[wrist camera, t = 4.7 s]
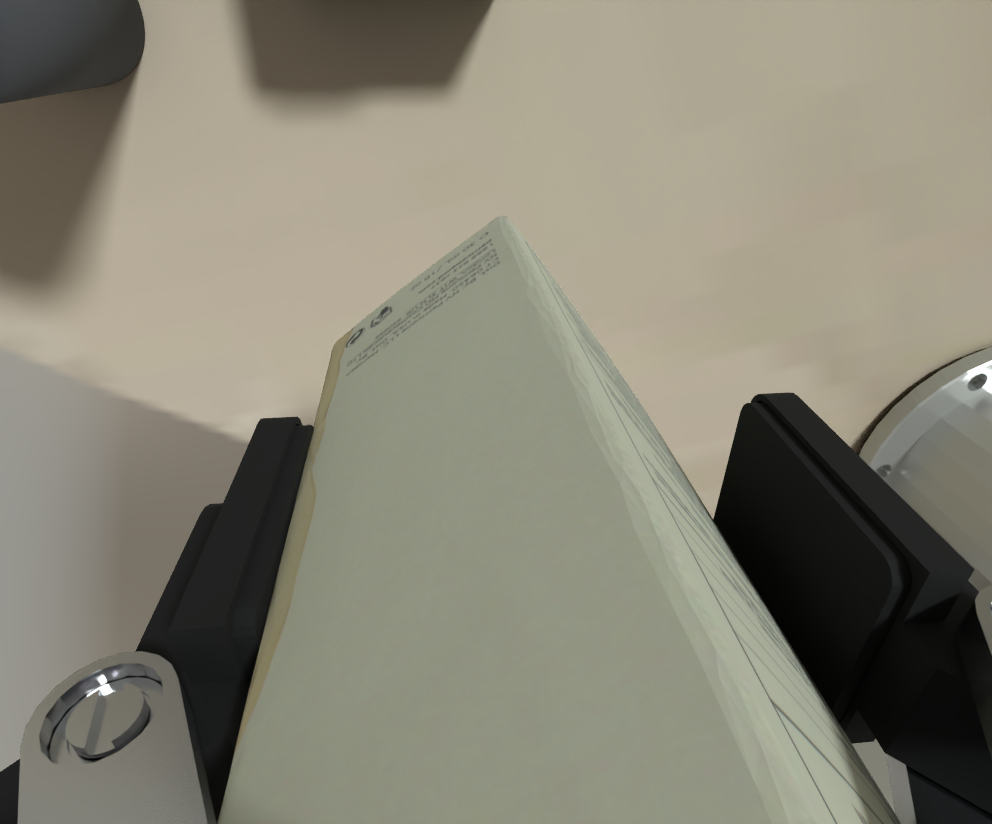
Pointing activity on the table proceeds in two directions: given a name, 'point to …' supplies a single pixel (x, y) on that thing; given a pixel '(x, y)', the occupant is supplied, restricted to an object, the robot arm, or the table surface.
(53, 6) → the dark grey capsule
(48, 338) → the table surface
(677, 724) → the skincare box
